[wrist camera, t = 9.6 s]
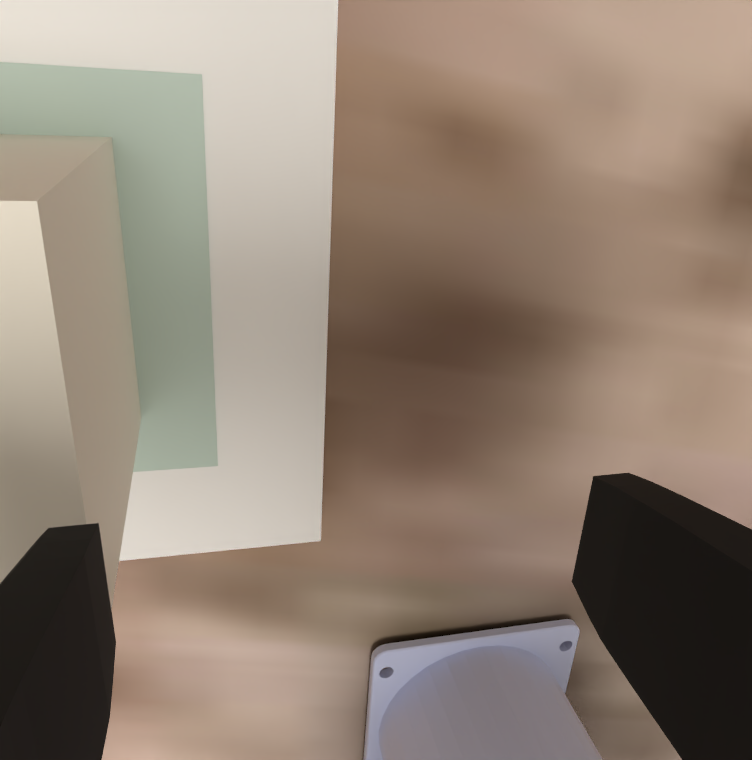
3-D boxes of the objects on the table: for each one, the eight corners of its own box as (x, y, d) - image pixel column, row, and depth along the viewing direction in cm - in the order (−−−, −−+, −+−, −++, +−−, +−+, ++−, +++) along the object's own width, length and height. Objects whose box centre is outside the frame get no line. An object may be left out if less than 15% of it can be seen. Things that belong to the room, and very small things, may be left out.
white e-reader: (317, 529, 22) (334, 594, 19) (-119, 570, 19) (-171, 653, 16) (335, -66, 15) (364, -94, 12) (-329, -142, 12) (-474, -198, 10)
